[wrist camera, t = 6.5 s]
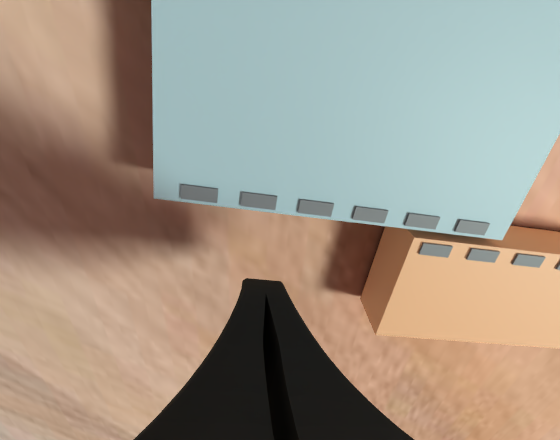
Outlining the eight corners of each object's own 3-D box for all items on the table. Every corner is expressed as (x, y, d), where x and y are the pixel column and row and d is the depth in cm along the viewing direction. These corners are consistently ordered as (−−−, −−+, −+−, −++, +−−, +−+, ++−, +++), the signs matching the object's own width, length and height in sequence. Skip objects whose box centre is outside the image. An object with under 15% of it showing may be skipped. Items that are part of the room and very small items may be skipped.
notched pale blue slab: (465, 212, 15) (503, 241, 12) (171, 174, 13) (152, 199, 11) (560, 5, 11) (638, -8, 9) (175, -82, 10) (149, -126, 7)
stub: (534, 314, 18) (574, 351, 15) (360, 298, 16) (376, 336, 14) (587, 235, 15) (641, 265, 13) (390, 210, 14) (415, 238, 12)
